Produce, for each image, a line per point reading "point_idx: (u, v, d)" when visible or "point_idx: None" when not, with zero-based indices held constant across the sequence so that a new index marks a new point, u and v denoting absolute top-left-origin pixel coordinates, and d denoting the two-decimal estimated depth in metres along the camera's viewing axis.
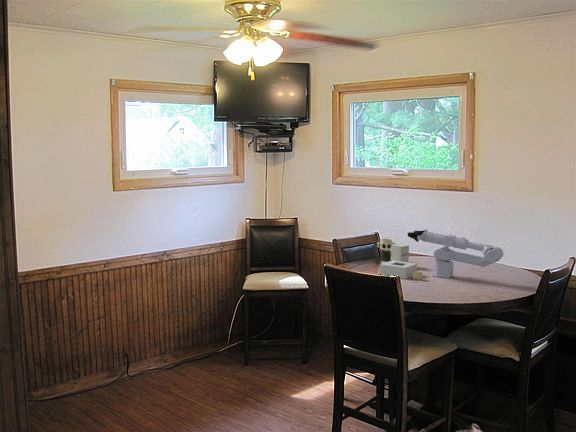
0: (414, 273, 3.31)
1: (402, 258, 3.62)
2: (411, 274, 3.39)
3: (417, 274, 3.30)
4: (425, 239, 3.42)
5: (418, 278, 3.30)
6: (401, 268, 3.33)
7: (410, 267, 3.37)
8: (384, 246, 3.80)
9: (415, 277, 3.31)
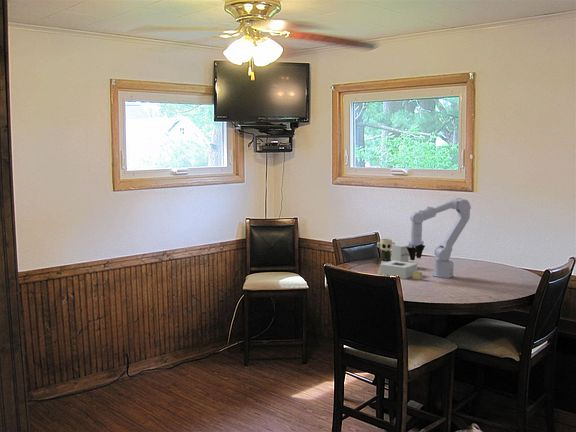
0: (414, 273, 3.31)
1: (402, 258, 3.62)
2: (411, 274, 3.39)
3: (417, 274, 3.30)
4: (416, 241, 3.35)
5: (418, 278, 3.30)
6: (401, 268, 3.33)
7: (410, 267, 3.37)
8: (384, 246, 3.80)
9: (415, 277, 3.31)
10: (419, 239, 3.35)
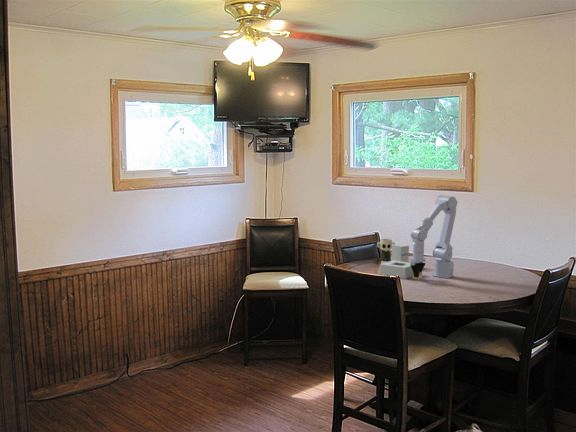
0: None
1: (402, 258, 3.62)
2: (411, 274, 3.39)
3: None
4: (418, 259, 3.28)
5: (418, 278, 3.30)
6: (401, 268, 3.33)
7: (410, 267, 3.37)
8: (384, 246, 3.80)
9: (415, 277, 3.31)
10: (421, 256, 3.28)
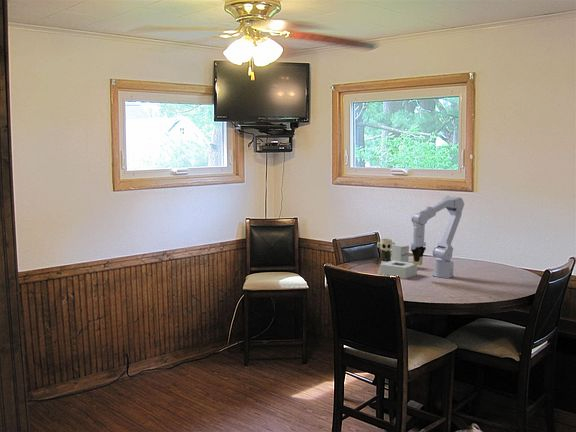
0: None
1: (402, 258, 3.62)
2: (411, 274, 3.39)
3: None
4: (418, 243, 3.27)
5: (418, 263, 3.29)
6: (401, 268, 3.33)
7: (410, 267, 3.37)
8: (384, 246, 3.80)
9: (416, 262, 3.30)
10: (422, 240, 3.27)
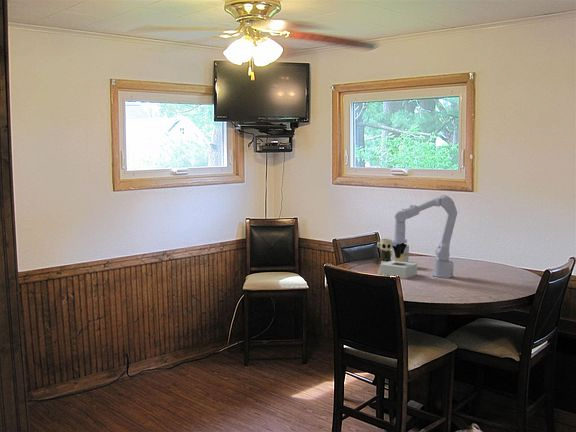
0: None
1: None
2: (411, 274, 3.39)
3: None
4: (399, 240, 3.38)
5: (400, 260, 3.40)
6: (401, 268, 3.33)
7: (410, 267, 3.37)
8: (384, 246, 3.80)
9: (398, 259, 3.41)
10: (402, 237, 3.38)
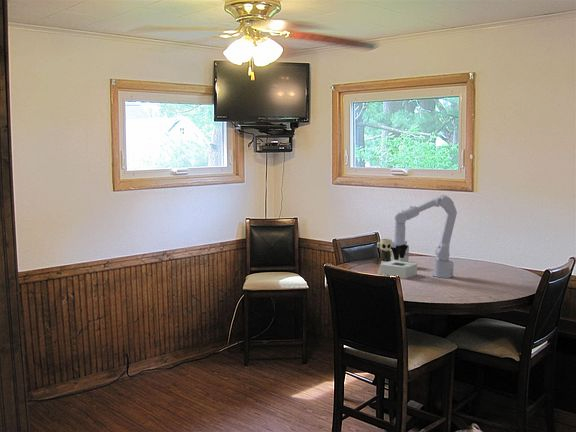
0: None
1: (402, 258, 3.62)
2: (411, 274, 3.39)
3: None
4: (399, 241, 3.38)
5: None
6: (401, 268, 3.33)
7: (410, 267, 3.37)
8: (384, 246, 3.80)
9: None
10: (402, 239, 3.38)
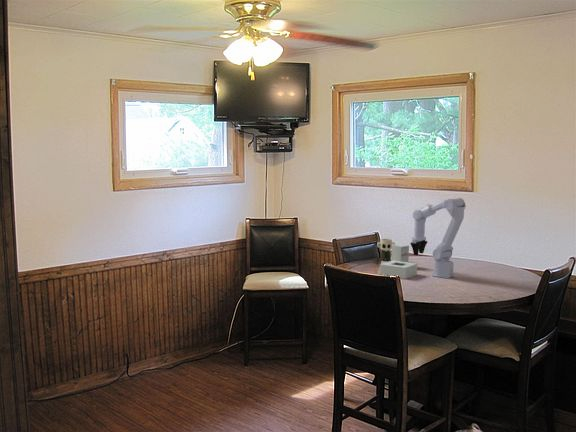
0: None
1: (402, 258, 3.62)
2: (411, 274, 3.39)
3: None
4: (419, 237, 3.50)
5: None
6: (401, 268, 3.33)
7: (410, 267, 3.37)
8: (384, 246, 3.80)
9: None
10: (422, 235, 3.50)
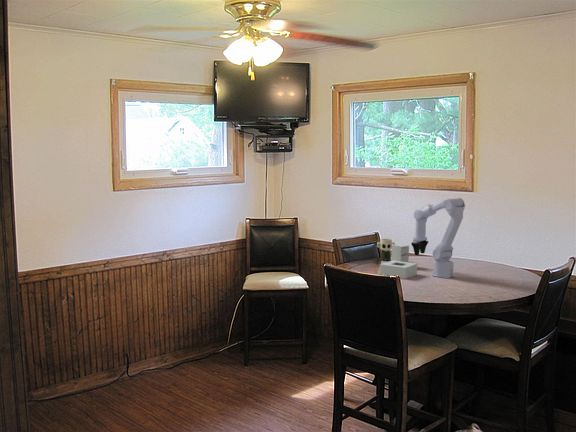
0: None
1: (402, 258, 3.62)
2: (411, 274, 3.39)
3: None
4: (420, 237, 3.50)
5: None
6: (401, 268, 3.33)
7: (410, 267, 3.37)
8: (384, 246, 3.80)
9: None
10: (423, 235, 3.50)
